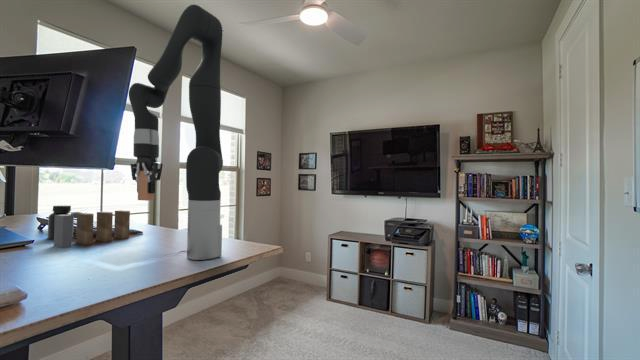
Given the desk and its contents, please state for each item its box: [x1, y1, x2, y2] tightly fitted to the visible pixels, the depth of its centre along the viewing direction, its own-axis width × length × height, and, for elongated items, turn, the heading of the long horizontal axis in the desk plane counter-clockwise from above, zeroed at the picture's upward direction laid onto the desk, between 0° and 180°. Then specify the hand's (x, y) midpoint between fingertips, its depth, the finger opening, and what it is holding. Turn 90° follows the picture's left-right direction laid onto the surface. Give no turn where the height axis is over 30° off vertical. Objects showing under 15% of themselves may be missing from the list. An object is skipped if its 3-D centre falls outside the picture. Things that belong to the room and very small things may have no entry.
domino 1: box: [75, 212, 95, 246], centre depth 98 cm, size 2×5×10 cm, turn 65°
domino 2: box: [95, 211, 114, 243], centre depth 104 cm, size 2×5×10 cm, turn 65°
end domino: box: [53, 215, 73, 249], centre depth 93 cm, size 2×5×10 cm, turn 65°
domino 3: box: [113, 209, 131, 240], centre depth 109 cm, size 2×5×10 cm, turn 65°
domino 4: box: [137, 171, 155, 202], centre depth 101 cm, size 2×5×10 cm, turn 64°
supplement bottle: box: [47, 205, 75, 241], centre depth 104 cm, size 7×7×12 cm
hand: (146, 192), depth 101 cm, fingers closed on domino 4, 5 cm apart
